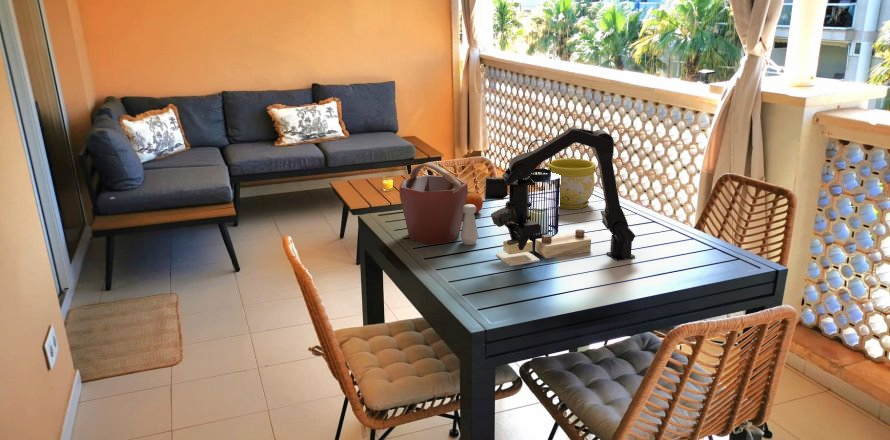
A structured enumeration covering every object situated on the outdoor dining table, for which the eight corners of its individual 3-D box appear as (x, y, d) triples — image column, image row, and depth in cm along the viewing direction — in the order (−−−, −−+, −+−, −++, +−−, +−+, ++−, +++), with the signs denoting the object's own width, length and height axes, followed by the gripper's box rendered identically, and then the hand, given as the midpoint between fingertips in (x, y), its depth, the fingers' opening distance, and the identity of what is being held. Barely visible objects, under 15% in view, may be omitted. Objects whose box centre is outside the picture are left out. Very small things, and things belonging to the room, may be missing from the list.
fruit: (468, 219, 254) (468, 198, 251) (449, 213, 261) (448, 192, 259) (488, 213, 261) (488, 192, 258) (469, 207, 268) (469, 187, 266)
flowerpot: (597, 211, 260) (599, 168, 256) (549, 211, 261) (550, 169, 256) (589, 198, 278) (591, 158, 273) (543, 198, 278) (545, 158, 273)
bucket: (476, 243, 229) (476, 169, 221) (413, 252, 221) (411, 176, 213) (449, 222, 250) (448, 154, 243) (390, 230, 243) (387, 160, 235)
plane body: (590, 251, 220) (591, 233, 218) (545, 258, 214) (546, 239, 213) (578, 244, 226) (579, 226, 224) (535, 251, 221) (535, 233, 219)
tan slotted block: (532, 251, 214) (532, 239, 212) (509, 254, 211) (509, 243, 210) (526, 246, 217) (526, 235, 216) (503, 250, 214) (503, 239, 213)
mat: (539, 261, 212) (539, 259, 212) (510, 266, 209) (510, 264, 208) (524, 250, 221) (524, 249, 221) (496, 255, 217) (496, 253, 217)
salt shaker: (476, 246, 226) (476, 208, 222) (459, 245, 227) (459, 207, 223) (479, 240, 231) (479, 203, 227) (462, 239, 232) (462, 202, 228)
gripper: (481, 194, 215) (481, 242, 219) (508, 210, 198) (507, 261, 203) (513, 190, 218) (513, 237, 223) (542, 205, 202) (541, 256, 206)
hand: (517, 247), depth 214 cm, fingers closed on tan slotted block, 4 cm apart
